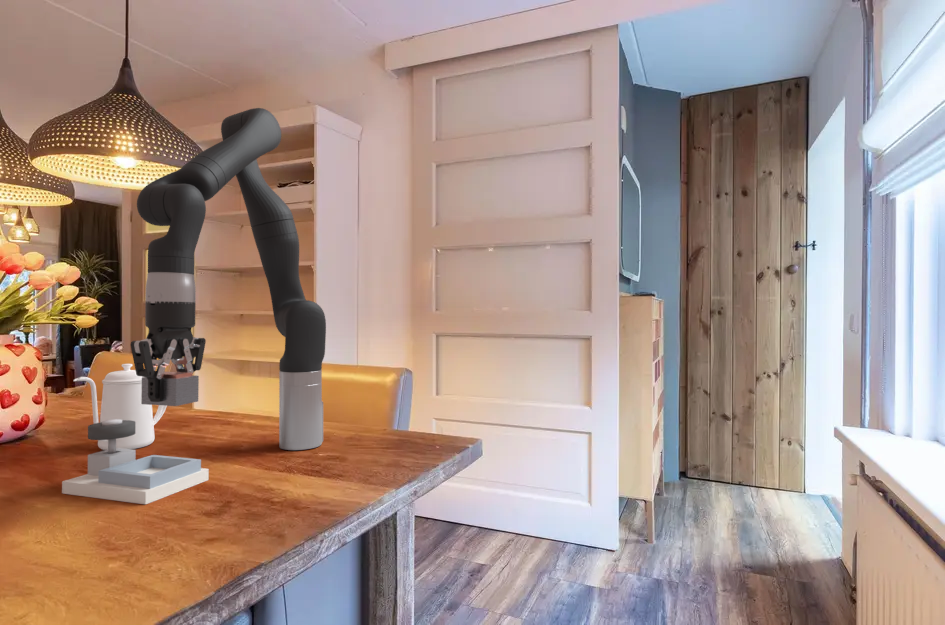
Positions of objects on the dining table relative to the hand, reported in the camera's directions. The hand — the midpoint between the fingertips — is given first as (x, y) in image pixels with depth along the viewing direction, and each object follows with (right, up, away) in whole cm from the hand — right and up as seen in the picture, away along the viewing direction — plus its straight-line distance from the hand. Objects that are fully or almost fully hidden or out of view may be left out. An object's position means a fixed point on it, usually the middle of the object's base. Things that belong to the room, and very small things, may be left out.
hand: (170, 398), depth 91 cm
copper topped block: (0, -1, 0) cm, 1 cm away
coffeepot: (-27, -16, +30) cm, 43 cm away
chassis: (-6, -16, +1) cm, 17 cm away
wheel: (-12, -10, +3) cm, 16 cm away
